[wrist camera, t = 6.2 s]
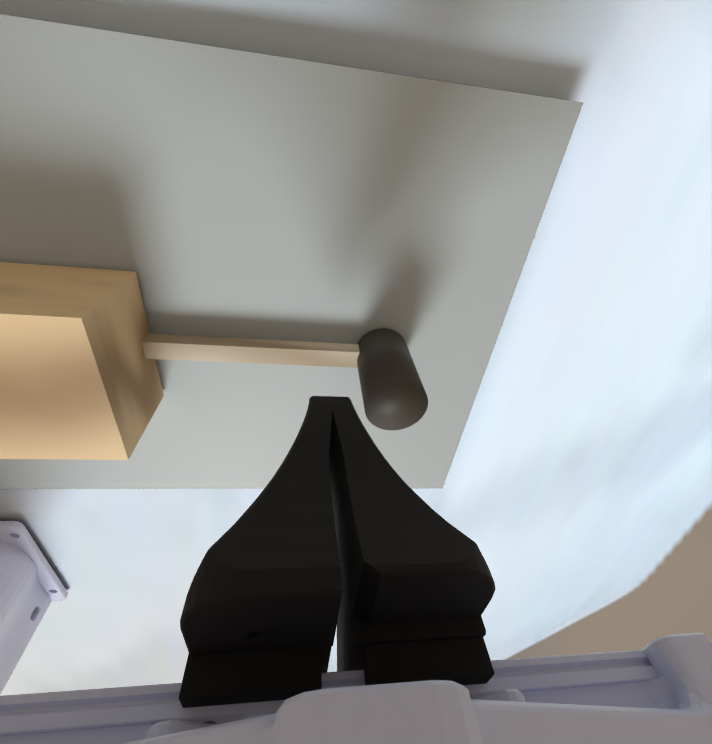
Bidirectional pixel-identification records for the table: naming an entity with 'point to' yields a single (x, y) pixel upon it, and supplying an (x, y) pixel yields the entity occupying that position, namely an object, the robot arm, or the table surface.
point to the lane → (271, 231)
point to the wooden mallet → (140, 364)
